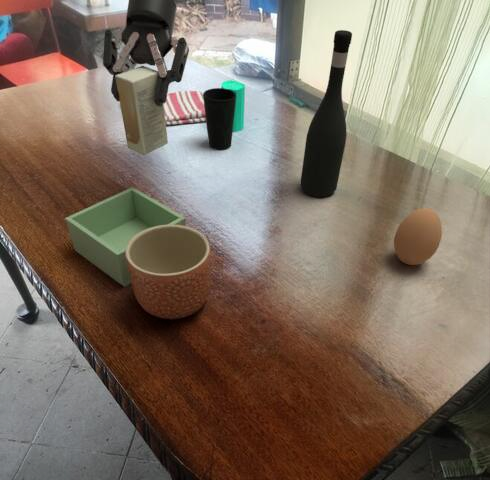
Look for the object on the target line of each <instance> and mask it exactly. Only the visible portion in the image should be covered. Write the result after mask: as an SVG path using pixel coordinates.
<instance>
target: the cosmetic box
mask: <svg viewBox="0 0 490 480" xmlns="http://www.w3.org/2000/svg"><path fill="white" fill-rule="evenodd" d="M115 78H116V83H117V89H118V95H119V100H120V101H119V106H120V111H121V117H122V123H123V127H124V128H123V129H124V133H125V138H126V144H127V149H129V150H131V151H134V152H135V153H138V154H140V155H142V156H145V155H147V154H149V153H152V152H154V151H155V150H158V149H160V148H162V147H164V146H165V145H167V144H168V143H169V140H168V130H167V125H166V121H165V112H164V104H162V107H159V106H157V105H156V104H155V102H154V96H155V90H156V84H157V78H160V75H159V72H158V70H156V69H153V68H150V67H147V66H144V65H141V66H138V67H134V69H132V70H129V71H126V72H124V73H121V74H118V75H115Z"/></svg>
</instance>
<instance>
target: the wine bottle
mask: <svg viewBox="0 0 490 480" xmlns="http://www.w3.org/2000/svg"><path fill="white" fill-rule="evenodd" d="M352 38H353V33H352V32H351V31H350V30H346V29H340V30H336V31H335V32H334V36H333V48H332V56H331V62H330V70H329V75H328V82H327V87H326V90H325V93H324V96H323V98H322V100H321V102H320V104H319V106H318V108H317V110H316V111H315V113H314V115H313V117H312V119H311V121H310V124H309V126H308V130H307V132H306V138H305V145H304V152H303V153H304V154H303V161H302V167H301V168H302V169H301V176H300V188H301V189H302V191H303V192H304V193H306V194H307V195H309V196H312V197H318V198H320V197H321V198H323V197H328V196H331V195H332V194H334V193H335V191H336V190H337V187H338V183H339V177H340V174H341V173H340V172H341V168H342V162H343V159H344V158H343V157H344V152H345V148H346V142H347V122H346V121H347V120H346V115H345V110H344V105H343V103H344V102H343V83H344V78H345V71H346V66H347V61H348V56H349V49H350V46H351V44H352V40H353V39H352Z"/></svg>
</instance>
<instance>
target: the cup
mask: <svg viewBox="0 0 490 480" xmlns="http://www.w3.org/2000/svg"><path fill="white" fill-rule="evenodd" d="M202 93H203V99H204V107H205V116H206V121H205V124H206V132H207V133H206V134H207V141H208V147H209V148H210V149H212V150H216V151H225V150H229V149H230V148H231V147H232V142H233V133H234V132H233V122H234V113H235V103H236V93H235V92H233V91H232V90H229V89H224V88H222V87H215V88H208V89H206V90H204V91H203V92H202Z"/></svg>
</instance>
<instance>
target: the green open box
mask: <svg viewBox="0 0 490 480" xmlns="http://www.w3.org/2000/svg"><path fill="white" fill-rule="evenodd" d="M64 221H65V224H66V227H67V230H68V234H69V237H70V240H71V244H72V247H73V250H74V251H75V252H76V253H77V254H79V255H80V256H81V257H83V258H85V259H86V260H87V261H89V263H91V264H92V265H94V266H95V267H97V269H99V270H100V271H102V272H103V273H105V274H106V275H107V276H109V277H110V278H112V279H113V280H114V281H116V282H117V283H118V284H120V286H122V287H124V288H126V287H128V286H129V285H132V282H131V278H130V275H129V271H128V267H127V263H126V257H125V251H126V247H127V244H128V243H129V241H130V240H131V239H132V238H133V237H134V236H135V235H136V234H138V233H139V232H141V231H143V230H145V229H148V228H151V227H155V226H159V225H182V226H186V227H187V219H186V217H185V216H184V215H182V214H180V213H178V212H176V211H175V210H173V209H171V208H169V207H168V206H166V205H164V204H162V202H159V201H158V200H156V199H155V198H152V197H150V196H149V195H147V194H145V193H144V192H142V191H140V190H139V189H137V188H135V187H133V186H132V187H129V188H127V189H125V190H123V191H121V192H118V193H117V194H114V195H112V196H110V197H108V198H105V199H104V200H102V201H100V202H96V203H94V204H93V205H90V206H89V207H86V208H84V209H82V210H80V211H77V212H76V213H73V214H71V215H69V216H67V217H65V218H64Z"/></svg>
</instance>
